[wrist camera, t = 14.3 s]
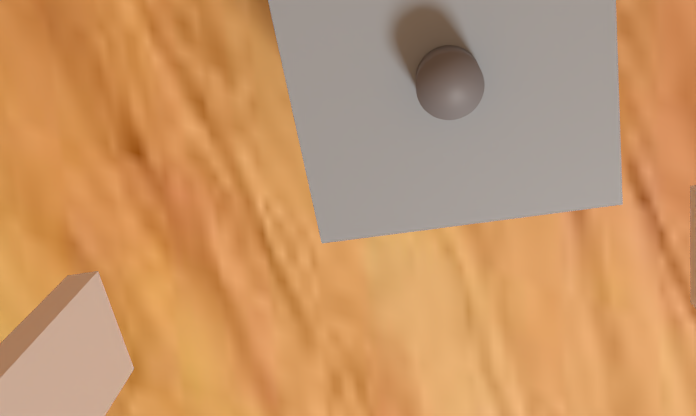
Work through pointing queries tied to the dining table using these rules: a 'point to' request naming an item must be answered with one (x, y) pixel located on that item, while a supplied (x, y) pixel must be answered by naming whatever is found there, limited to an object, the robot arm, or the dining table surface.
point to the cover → (451, 109)
